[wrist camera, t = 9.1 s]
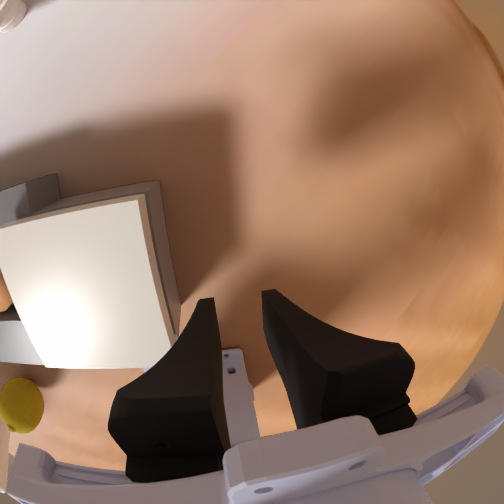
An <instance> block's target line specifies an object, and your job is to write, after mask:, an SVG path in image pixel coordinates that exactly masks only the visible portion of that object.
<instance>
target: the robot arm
mask: <svg viewBox="0 0 504 504" xmlns="http://www.w3.org/2000/svg"><path fill="white" fill-rule="evenodd" d="M261 292H262V310H263V328H264V332H265V336H266V340H267V344H268V347H269V350H270V352H271V355H272V357H273V359H274V362H275V364H276V367H277V369H278V371H279V374H280V376H281V378H282V381H283V383H284V386H285V388H286V391H287V394H288V398H289V401H290V405H291V408H292V412H293V415H294V419H295V422H296V426H297V430H294V431H289V432H284V433H280V434H275V435H269V436H264V437H260V434H259V428H258V423H257V418H256V413H255V408H254V403H253V401H254V394H253V388H252V384H251V383H249V381H248V377H247V372H246V367H245V363H244V358H243V351H242V350H241V349H240V348H234V349H227V350H222V348H221V340H220V333H219V327H218V321H217V315H216V308H215V302H214V297H213V298H205V299H200V300H199V301H198V302H197V305H196V308H195V310H194V312H193V314H192V316H191V318H190V320H189V322H188V323H187V325H186V327H185V329H184V330H183V332H182V333H181V335H180V336H179V338H178V339H177V341H176V342H175V343H174V345H173V346H172V347H171V348H170V349H169V351H168V352H167V353H166V354H165V355H164V356H163V357H162V358H161V359H160V360H159V361H158V362H157V363H156V364H155V365H154V366H153V367H142V369H143V371H144V374H142V375H141V376H140V377H138V378H137V379H135V380H134V381H132V382H131V383H129V384H127V385H126V386H124V387H122V388H121V389H119V390H117V393H116V396H115V398H114V400H113V404H112V407H111V412H110V416H109V421H108V431H109V433H110V435H111V436H112V438H113V439H114V440H115V442H116V443H117V444H118V445H119V446H120V448H121V449H122V450H123V451H124V453H125V454H126V455H127V461H126V471H118V470H108V469H100V468H92V467H86V466H80V465H74V464H69V463H64V462H59V461H55V460H54V458H53V457H52V456H51V455H50V454H49V453H47V452H46V451H44V450H42V449H40V448H37V447H33V446H29V445H25V444H22V443H21V444H19V446H18V449H17V452H16V456H15V459H14V462H13V466H12V469H11V472H10V476H9V480H8V484H7V487H6V493H7V494H8V495H10V496H11V497H13V498H14V499H16V500H17V501H18V502H20V503H21V504H433V503H432V501H431V499H430V498H429V496H428V494H427V492H426V490H425V489H424V487H423V485H424V484H426V483H427V482H429V481H431V480H432V479H434V478H435V477H436V476H438V475H440V474H441V473H442V472H444V471H445V470H447V469H448V468H450V467H451V466H452V465H453V464H455V463H457V462H458V461H459V460H461V459H462V458H463V457H464V456H465V455H467V454H468V453H469V452H471V451H472V450H473V449H475V448H476V447H477V446H478V445H480V444H481V443H482V442H483V441H485V440H486V439H487V438H488V437H489V436H490V435H492V434H493V433H494V432H495V431H496V430H497V428H498V427H499V426H500V425H501V424H502V422H503V421H504V377H503V376H502V375H501V374H500V373H499V372H498V371H497V370H496V369H495V368H494V367H493V366H492V365H491V364H488V365H486V366H485V367H483V368H482V369H480V370H479V371H477V372H476V373H475V374H474V375H473V376H472V377H471V378H470V380H469V381H468V383H467V385H466V388H465V389H463V390H462V391H460V392H458V393H457V394H455V395H453V396H451V397H450V398H448V399H446V400H444V401H443V402H441V403H439V404H437V405H435V406H433V407H431V408H430V409H428V410H426V411H424V412H422V413H420V414H418V415H415V414H414V412H413V411H412V409H411V408H410V406H409V405H408V403H409V402H410V398H409V397H408V396H407V394H406V391H407V388H408V386H409V384H410V382H411V379H412V377H413V374H414V370H415V362H414V361H413V359H412V358H411V356H410V355H409V354H408V353H407V352H406V350H405V349H404V348H403V347H402V346H401V345H400V344H399V343H394V342H387V341H379V340H374V339H370V338H365V337H361V336H358V335H354V334H351V333H348V332H346V331H343V330H340V329H338V328H335V327H333V326H331V325H329V324H327V323H324V322H322V321H321V320H319V319H317V318H315V317H313V316H312V315H310V314H308V313H307V312H305V311H304V310H302V309H301V308H299V307H298V306H297V305H295V304H294V303H292V302H291V301H290V300H289V299H287V298H286V297H285V296H283V295H282V294H281V293H280V292H278V291H277V290H276V289H272V290H265V291H261ZM225 354H228V355H225Z"/></svg>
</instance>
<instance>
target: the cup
mask: <svg viewBox="0 0 504 504" xmlns="http://www.w3.org/2000/svg"><path fill="white" fill-rule="evenodd" d="M9 437H10V430H9V429H8V427H7V425H6V424H5V423H4V422H3V420H2V418H1V416H0V492H2V493H5V490H6V483H7V472H8V447H9Z"/></svg>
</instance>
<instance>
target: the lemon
mask: <svg viewBox="0 0 504 504" xmlns="http://www.w3.org/2000/svg"><path fill="white" fill-rule="evenodd" d="M43 411H44V401H43V397H42V394H41V392H40V390H39V389H38V388H37V386H36V385H35V384H34V382H33V381H32V380H28V379H25V378H21V377H18V378H13V379H11V380H9V381H8V382H7V383H6V384H5V385H4V387H3V388H2V391H1V393H0V416H1V418H2V420H3V422H4V423H5V424H6V425H7V427H8V429H9V430H10V431H11V432H17V433H29V432H31V431H33V430H34V429H35V428H36V427H37V425H38V424H39V422H40V420H41V418H42V415H43Z"/></svg>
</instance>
